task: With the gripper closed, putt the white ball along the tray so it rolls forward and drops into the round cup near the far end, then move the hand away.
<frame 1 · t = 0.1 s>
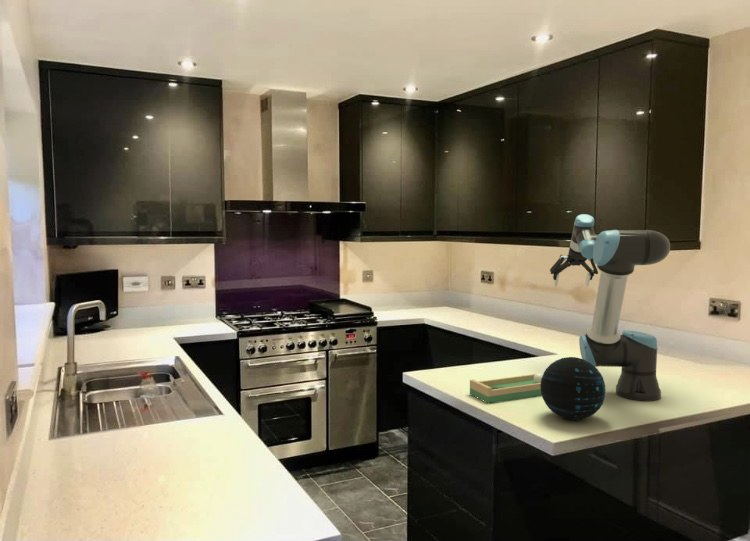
hand: (571, 284, 255), 36 cm above the worktop, fingers open, 13 cm apart
decorative sphere: (571, 418, 185), on the worktop
tray: (515, 393, 212), on the worktop
ball: (539, 378, 216), point 4 cm above the worktop, touching tray
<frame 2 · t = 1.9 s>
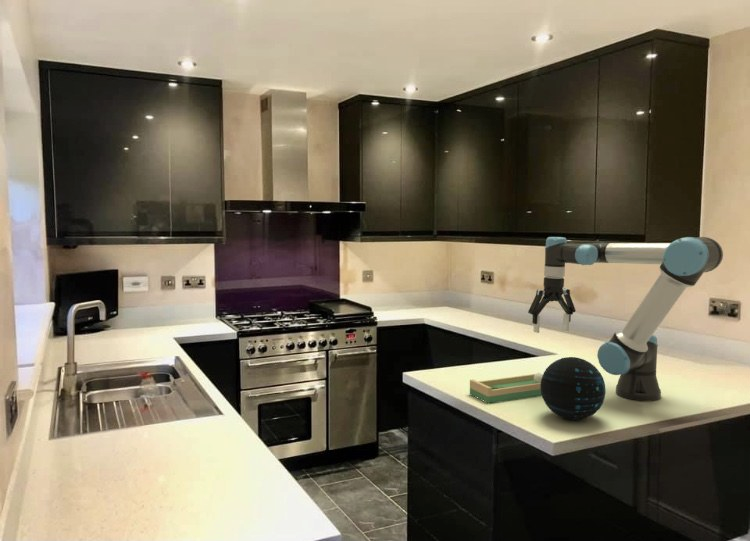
hand: (551, 331, 221), 21 cm above the worktop, fingers open, 13 cm apart
nothing on the worktop moved.
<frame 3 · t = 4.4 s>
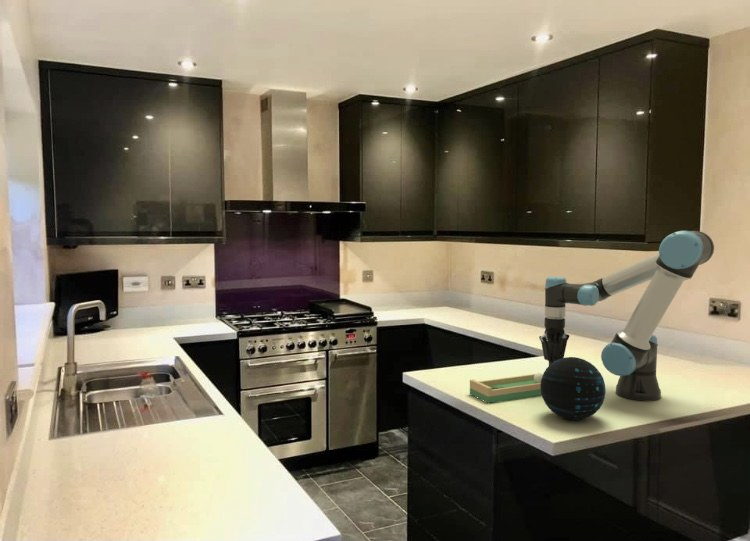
hand: (553, 377, 219), 4 cm above the worktop, fingers closed
nothing on the worktop moved.
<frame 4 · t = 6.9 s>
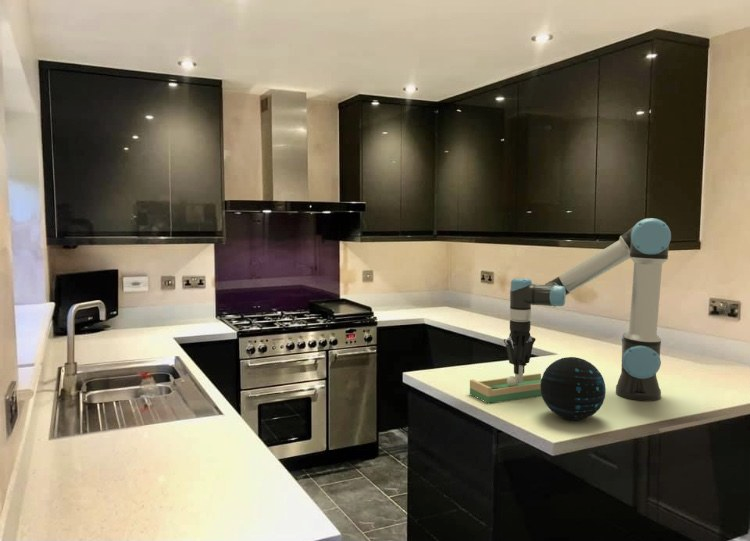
hand: (518, 382, 213), 4 cm above the worktop, fingers closed
ball: (512, 381, 212), point 4 cm above the worktop, tilted 18°, touching tray
everything else where it was.
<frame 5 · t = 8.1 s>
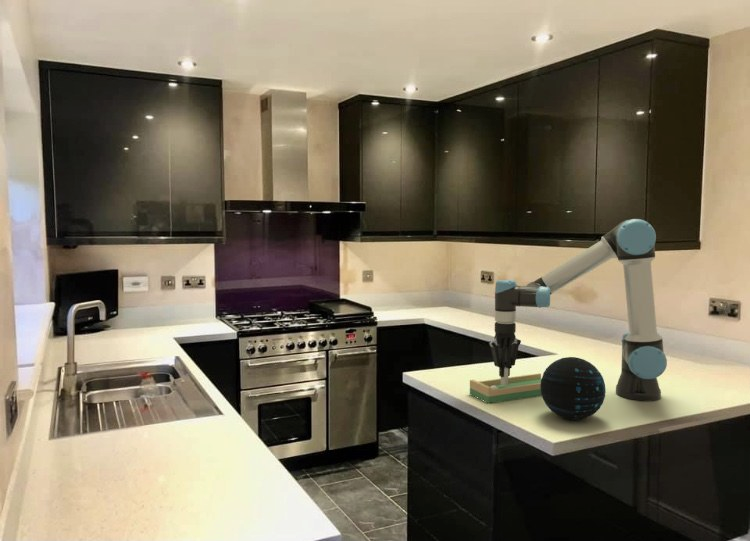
hand: (504, 384, 210), 4 cm above the worktop, fingers closed
ball: (493, 391, 208), point 2 cm above the worktop, tilted 108°, touching tray
everything else where it was.
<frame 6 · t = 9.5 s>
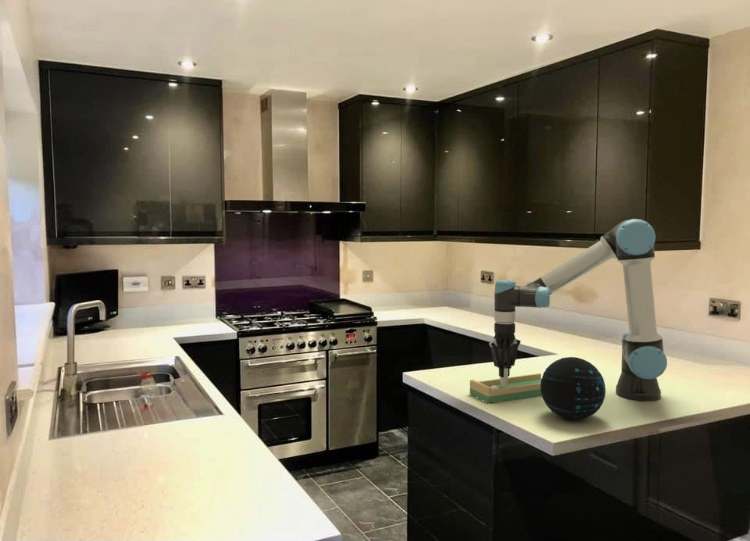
hand: (504, 385, 210), 4 cm above the worktop, fingers closed
ball: (494, 391, 208), point 2 cm above the worktop, tilted 113°, touching tray
everything else where it was.
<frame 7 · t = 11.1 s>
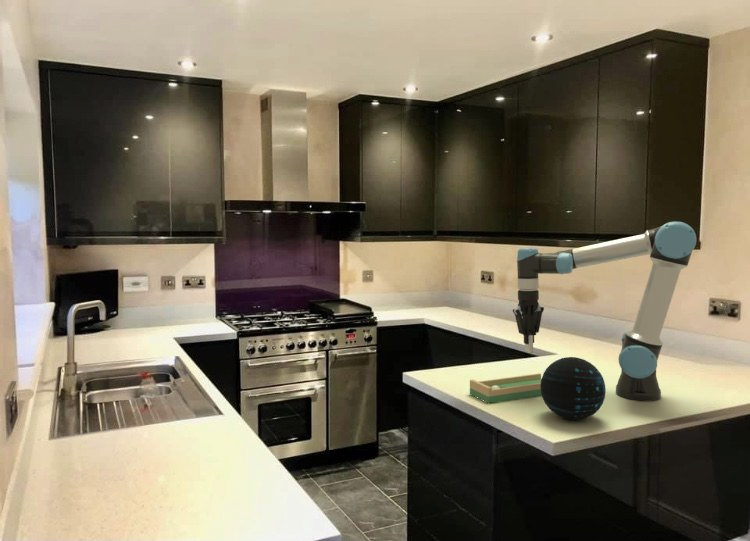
hand: (529, 352, 213), 15 cm above the worktop, fingers closed
ball: (495, 391, 208), point 2 cm above the worktop, tilted 119°, touching tray
everything else where it was.
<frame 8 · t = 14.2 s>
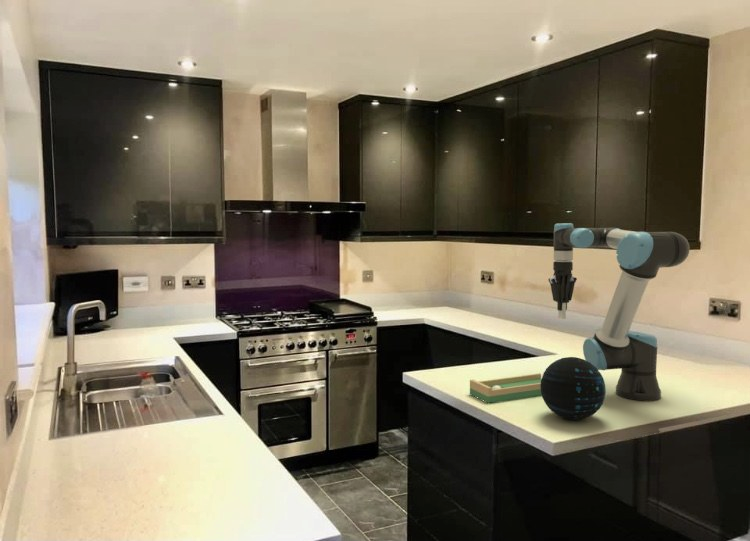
hand: (561, 318, 234), 24 cm above the worktop, fingers closed
ball: (496, 390, 208), point 2 cm above the worktop, tilted 129°, touching tray
everything else where it was.
at the end: ball 0.7 cm from the target spot on the tray, point 2.2 cm above the tray's base; the gripper is holding nothing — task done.
